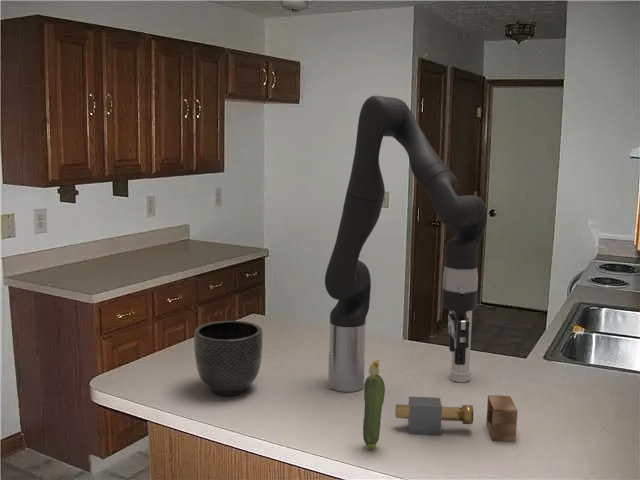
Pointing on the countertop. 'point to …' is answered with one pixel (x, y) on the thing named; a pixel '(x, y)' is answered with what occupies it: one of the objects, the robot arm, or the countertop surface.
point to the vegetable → (373, 405)
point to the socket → (501, 418)
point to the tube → (447, 413)
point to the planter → (228, 355)
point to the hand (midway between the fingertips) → (456, 357)
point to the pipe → (462, 371)
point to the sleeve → (425, 415)
